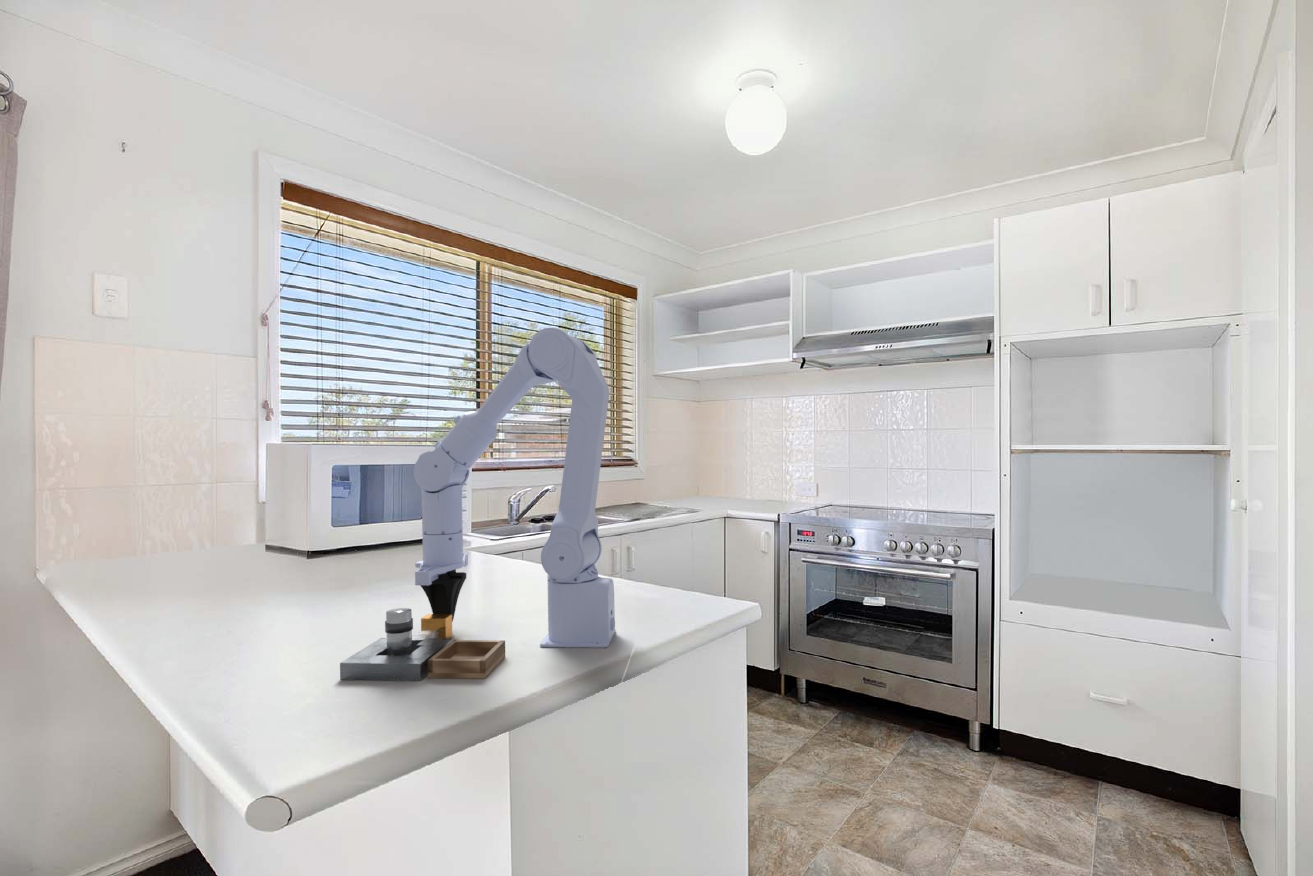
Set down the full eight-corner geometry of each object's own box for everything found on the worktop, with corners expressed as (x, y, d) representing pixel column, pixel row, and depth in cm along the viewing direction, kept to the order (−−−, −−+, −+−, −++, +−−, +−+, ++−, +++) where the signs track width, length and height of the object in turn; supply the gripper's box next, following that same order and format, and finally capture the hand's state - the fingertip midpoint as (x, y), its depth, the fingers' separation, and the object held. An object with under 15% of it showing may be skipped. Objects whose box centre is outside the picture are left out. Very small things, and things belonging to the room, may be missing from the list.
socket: (381, 652, 89) (381, 637, 89) (453, 653, 89) (452, 638, 89) (340, 679, 79) (339, 663, 79) (420, 680, 79) (420, 663, 79)
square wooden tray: (505, 656, 87) (505, 640, 87) (484, 678, 79) (484, 661, 79) (453, 656, 88) (453, 640, 88) (428, 677, 80) (427, 660, 80)
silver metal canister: (417, 661, 86) (417, 607, 86) (406, 670, 82) (405, 614, 82) (393, 661, 86) (392, 607, 86) (380, 670, 82) (379, 614, 83)
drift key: (428, 635, 97) (428, 614, 97) (452, 636, 97) (451, 614, 97) (402, 654, 89) (402, 630, 89) (428, 654, 88) (428, 630, 88)
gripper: (437, 526, 106) (438, 610, 106) (393, 539, 91) (394, 638, 91) (479, 525, 105) (481, 611, 105) (442, 539, 91) (444, 638, 91)
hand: (444, 623), depth 98 cm, fingers closed
